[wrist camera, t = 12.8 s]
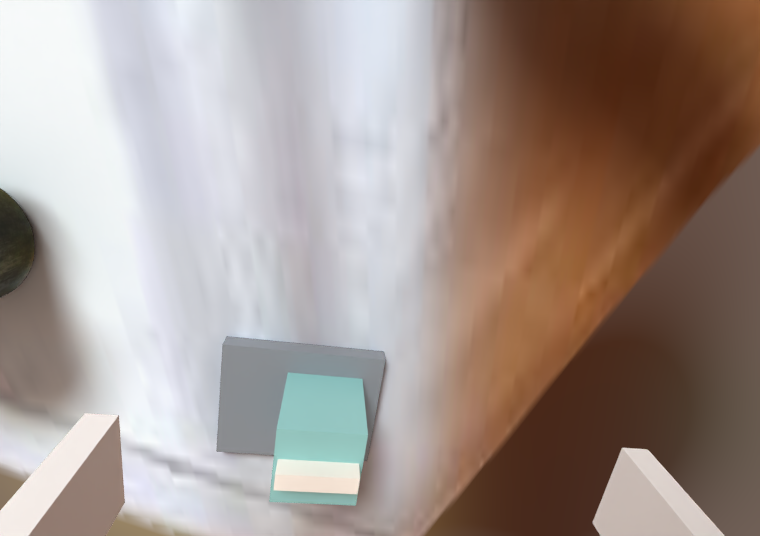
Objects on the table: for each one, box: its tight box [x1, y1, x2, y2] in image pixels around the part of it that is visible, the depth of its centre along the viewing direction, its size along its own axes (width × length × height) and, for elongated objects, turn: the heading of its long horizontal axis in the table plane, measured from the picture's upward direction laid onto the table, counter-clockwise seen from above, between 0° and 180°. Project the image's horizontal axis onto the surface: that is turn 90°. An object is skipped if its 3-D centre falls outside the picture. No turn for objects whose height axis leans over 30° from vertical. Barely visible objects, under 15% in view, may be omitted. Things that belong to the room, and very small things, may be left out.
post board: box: [217, 336, 386, 461], centre depth 38 cm, size 11×14×6 cm
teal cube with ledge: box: [269, 373, 368, 506], centre depth 35 cm, size 7×7×9 cm
